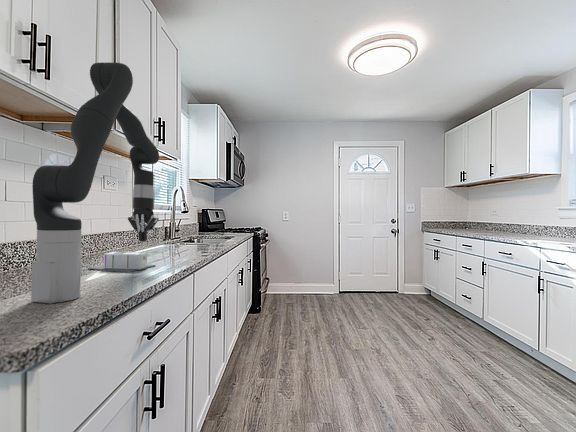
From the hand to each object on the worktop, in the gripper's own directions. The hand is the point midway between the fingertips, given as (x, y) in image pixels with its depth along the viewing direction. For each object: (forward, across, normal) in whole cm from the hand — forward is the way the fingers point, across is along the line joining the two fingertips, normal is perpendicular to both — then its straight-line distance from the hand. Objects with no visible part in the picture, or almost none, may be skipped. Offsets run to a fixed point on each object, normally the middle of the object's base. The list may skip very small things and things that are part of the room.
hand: (142, 241), depth 130 cm
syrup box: (+8, +2, -1) cm, 8 cm away
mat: (+11, -9, 0) cm, 14 cm away
